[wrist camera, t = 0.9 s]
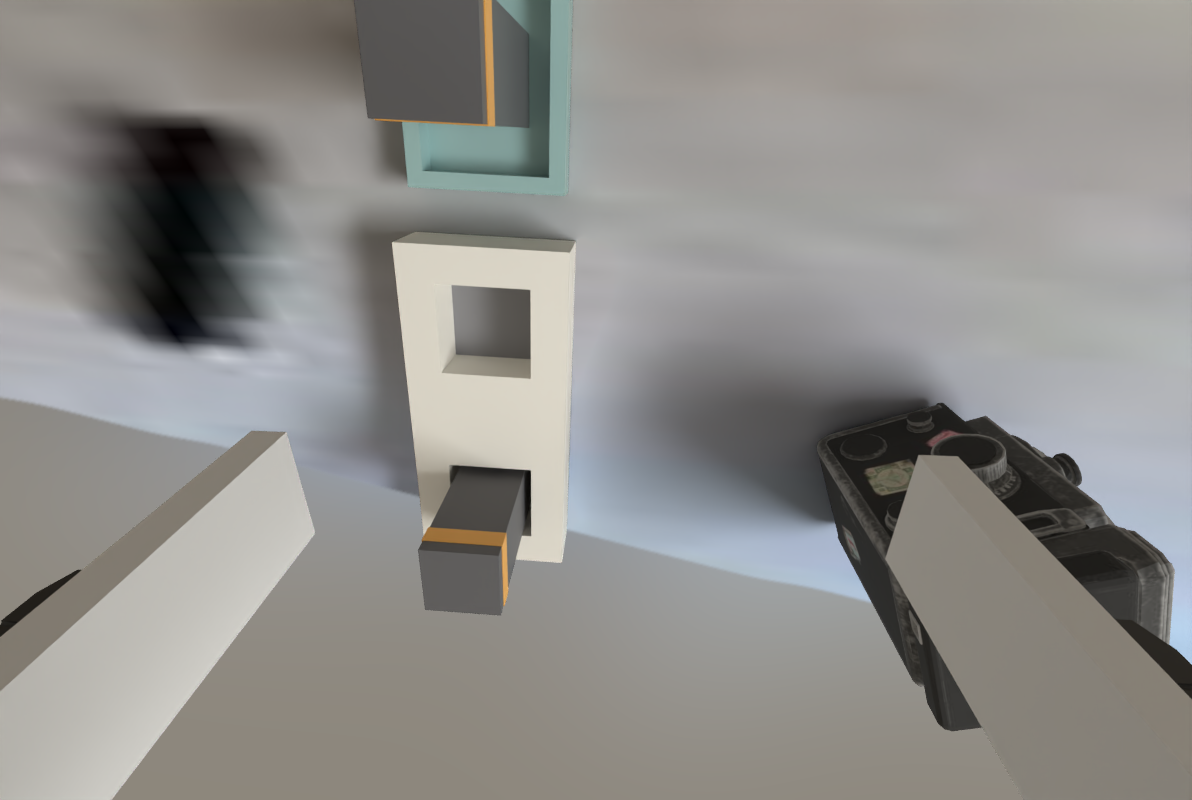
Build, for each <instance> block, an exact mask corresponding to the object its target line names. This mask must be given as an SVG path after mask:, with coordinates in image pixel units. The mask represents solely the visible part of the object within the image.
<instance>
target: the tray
mask: <svg viewBox="0 0 1192 800" xmlns="http://www.w3.org/2000/svg"><path fill="white" fill-rule="evenodd" d="M497 1H498V2H499V4H500V5H501V6H502V7H503V8H504V9H505V10H506V11H507V12H508V13H509V14H510V15H511V16H512V17H513V18H514V19H515V20H516V21H517V22H518V23H519V24H520V25H521V26H522V27H523V28H524V30H525V31H526V32H527V33H528V34H529V128H519V127H500V126H495V127H492V126H473V125H454V124H435V123H416V122H402V127H403V137H404V148H405V159H406V170H407V180H408V187H415V188H433V189H451V190H469V191H487V192H505V193H523V194H541V195H559V196H565V195H566V194H567V193H568V175H569V134H570V93H571V52H572V10H573V0H497Z"/></svg>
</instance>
